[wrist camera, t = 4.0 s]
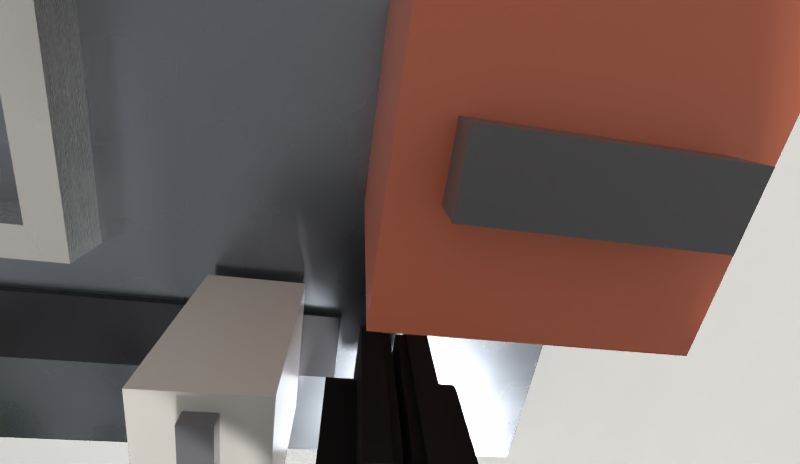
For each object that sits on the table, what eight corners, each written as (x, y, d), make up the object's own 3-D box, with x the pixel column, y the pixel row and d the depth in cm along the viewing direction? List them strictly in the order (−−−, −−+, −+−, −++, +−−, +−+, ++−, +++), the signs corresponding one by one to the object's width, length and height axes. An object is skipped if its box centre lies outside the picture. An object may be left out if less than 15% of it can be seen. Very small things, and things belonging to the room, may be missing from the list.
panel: (621, -47, 11) (721, -92, 8) (489, 411, 16) (519, 491, 13) (-399, -264, 8) (-854, -463, 5) (-153, 376, 13) (-303, 466, 10)
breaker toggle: (305, 283, 11) (272, 410, 7) (296, 405, 12) (263, 571, 8) (207, 274, 10) (111, 402, 6) (209, 401, 12) (131, 571, 8)
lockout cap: (588, 35, 9) (926, -15, 4) (535, 222, 11) (720, 385, 5) (390, -2, 9) (438, -126, 3) (364, 202, 10) (366, 362, 5)
